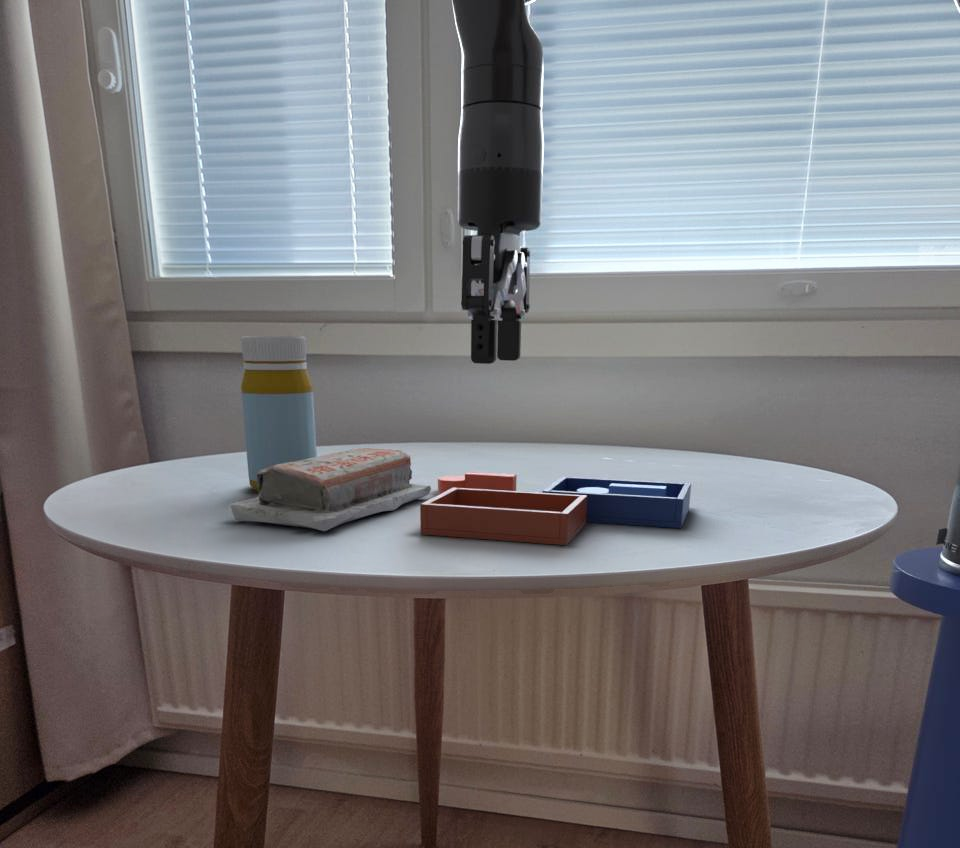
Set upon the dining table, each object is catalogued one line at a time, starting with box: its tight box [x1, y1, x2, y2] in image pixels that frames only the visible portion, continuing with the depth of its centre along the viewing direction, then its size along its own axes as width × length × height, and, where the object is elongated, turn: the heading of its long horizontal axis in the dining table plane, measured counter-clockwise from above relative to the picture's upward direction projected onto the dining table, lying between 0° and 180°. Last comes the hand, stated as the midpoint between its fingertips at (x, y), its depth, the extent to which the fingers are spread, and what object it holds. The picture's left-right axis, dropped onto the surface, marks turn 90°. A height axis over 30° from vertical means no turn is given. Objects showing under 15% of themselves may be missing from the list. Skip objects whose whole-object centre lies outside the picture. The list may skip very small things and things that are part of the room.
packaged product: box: [229, 447, 432, 532], centre depth 80 cm, size 18×5×10 cm
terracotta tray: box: [419, 488, 587, 546], centre depth 73 cm, size 12×8×2 cm
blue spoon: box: [577, 483, 667, 497], centre depth 79 cm, size 8×3×2 cm, turn 73°
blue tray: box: [541, 476, 692, 529], centre depth 79 cm, size 12×8×2 cm
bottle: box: [240, 335, 318, 493], centre depth 88 cm, size 7×7×15 cm
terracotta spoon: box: [437, 471, 517, 495], centre depth 87 cm, size 8×3×2 cm, turn 73°
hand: (496, 361), depth 83 cm, fingers open, 8 cm apart
